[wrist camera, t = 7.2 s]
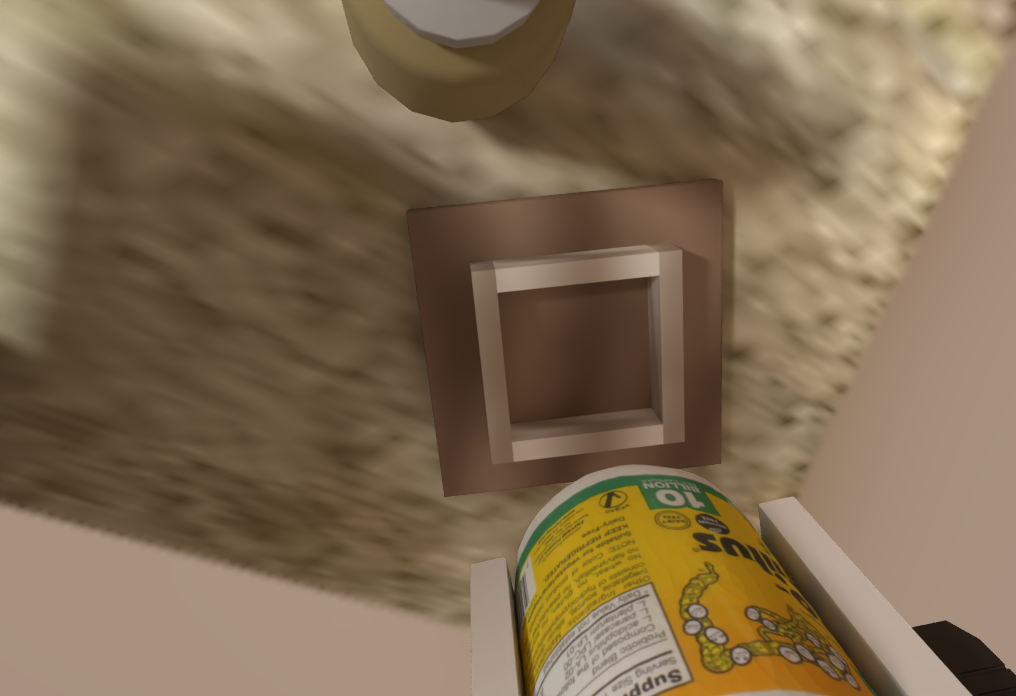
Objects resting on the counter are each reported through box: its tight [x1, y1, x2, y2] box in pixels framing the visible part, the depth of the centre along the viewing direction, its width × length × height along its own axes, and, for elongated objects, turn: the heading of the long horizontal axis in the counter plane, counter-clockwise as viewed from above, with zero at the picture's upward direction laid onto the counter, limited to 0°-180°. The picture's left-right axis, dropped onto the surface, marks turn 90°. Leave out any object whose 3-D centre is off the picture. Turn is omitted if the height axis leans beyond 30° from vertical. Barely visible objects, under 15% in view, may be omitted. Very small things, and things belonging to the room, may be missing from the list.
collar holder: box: [406, 179, 723, 497], centre depth 32 cm, size 14×14×3 cm
